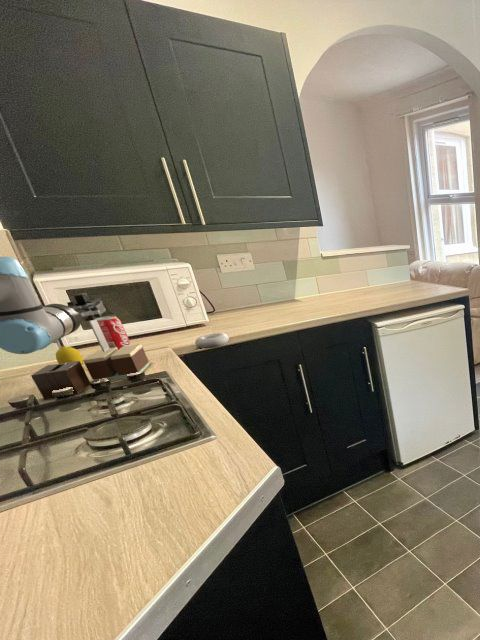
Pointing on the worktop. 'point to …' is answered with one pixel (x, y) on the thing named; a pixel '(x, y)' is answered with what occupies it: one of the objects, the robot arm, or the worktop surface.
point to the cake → (116, 362)
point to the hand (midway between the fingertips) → (94, 303)
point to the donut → (212, 340)
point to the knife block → (61, 378)
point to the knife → (93, 322)
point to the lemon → (68, 355)
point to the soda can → (113, 332)
